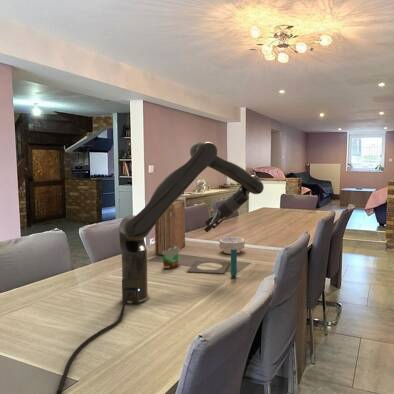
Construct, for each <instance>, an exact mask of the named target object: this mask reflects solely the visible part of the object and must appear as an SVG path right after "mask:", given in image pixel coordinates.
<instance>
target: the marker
mask: <svg viewBox="0 0 394 394" xmlns="http://www.w3.org/2000/svg"><path fill="white" fill-rule="evenodd" d="M237 260H238V253H237V249H235V248H232V249H231V254H230V277H231V279H233V280H235V279H237V273H238V271H237V270H238V269H237V268H238V264H237V263H238V261H237Z"/></svg>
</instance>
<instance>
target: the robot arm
mask: <svg viewBox="0 0 394 394" xmlns="http://www.w3.org/2000/svg"><path fill="white" fill-rule="evenodd" d="M189 155H190V158H189V160H187V162H185V163H184V164H183V165H181V166H179V167H178V168H176V169H175V170H173V171H171V173H169V174H168V175H167V176H166V177H165V178H164V179H163V180H162V181H161V182H160V183H159V184H158V186H157V187H156V188H155V189H154V191H153V193H152V194H151V197H150V200H149V201H148V203H147V204H146V205H145V206H144V208H142V209H141V210H140V211H139V212H138V213H137V214H136V215H134V214H130V215H129V214H128V215H127V216H125V217H124V218H122V219H121V220H120V223H119V226H118V234H119V235H118V236H119V249H120V253H121V277H122V278H121V301H122V306H121V310H120V313H119V316H118V318H117V320H116V321H114V322H113V323H111V324H109V325H108V326H105V327H104V328H102V329H100V330H99V331H97V332H96V333H94V334H92V335H91V336H89V337H88V338H87V339H86V340H84V341H83V342H82V343H81V344H80V345H79V346H78V347H77V348H76V349H75V350H74V352H73V353H72V354H71V356H70V357H69V358H68V360H67V363H66V364H65V367H64V370H63V373H62V375H61V378H60V381H59V384H58V387H57V390H56V394H61V393H62V391H63V388H64V385H65V382H66V379H67V375H68V374H69V373H68V372H69V371H70V367H71V365H72V362H73V361H74V359H75V358H76V356H77V355H78V353H79V352H80V351H81V349H83V348H84V347H85V346H86V345H87V344H89V342H91V341H93V340H94V339H95V338H97V337H99V336H100V335H101V334H103V333H104V332H106V331H108V330H110V329H112V328H113V327H115V326H117V325H118V324H119V323H120V322H121V320H122V318H123V316H124V312H125V308H126V306H127V304H128V305H129V304H130V305H139V304H141V303H143V302H145V301H147V300H148V299H149V288H148V287H149V286H148V285H149V283H148V250H147V247H146V244H145V238H146V237H148V235H149V233H150V232H151V231H152V229H153V228H155V224H156V222H157V221H158V220H159V219H160V217H161V216H162V215H163V214H164V213H165V212H166V211H167V210H168V209H169V208H170V207H171V205H172V204H173V203H174V202H175V201H176V200H179V198H180V197H181V196H182V195H183V194H184V193H185V191H187V189H188V188H189V187H190V186H191V185H192V184H193V182H194V181H195V180H196V179H197V178H198V177H199V175H201V174H202V172H203V171H205V170H206V169H207V168H211V169H212V170H215V171H216V172H218V173H220V174H222V175H223V176H225V177H226V178H229V179H230V180H232V181H234V182H235V183H237V184H238V185H240V186H239V188H238V189H237V190H236V191H235V192H234V193H233V194H232V195H230V196H228V197H227V198H226V199H225V200H224V201H223V202H221V204H219V205H218V206H217V209H216V210H215V211H214V212H213V213H211V214H210V217H209V218H208V219H206V221H205V222H204V224H205V225H206V227H205V228H204V229H203V230H204V232H206V233H209V232H210V231H211V230H212V229H216V228H217V227H218V226H220V225H221V223H222V222H223V218H226V219H229V218H230V217H231V216H233V215H234V213H236V212H237V211H238V210H239V209H240V208H241V207H242V206H243V205H244V204H245V203H247V202H248V201H249V198H250V193H251V194H253V195H260V194H262V193H263V191H264V188H265V187H264V184H263V182H262V180H261V178H260V177H259V176H258V175H256V174H252V175H251V174H250V173H249V171H247V170H246V169H244V168H242V167H241V166H239V165H238V164H236V163H234V162H231V161H228V160H226V159H224V158H222V157H220V156H218V148H217V146H216V145H215V144H214V143H213V142H210V141H200V142H196V143H194V144H193V145H191V147H190V148H189Z"/></svg>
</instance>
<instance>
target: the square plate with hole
mask: <svg viewBox="0 0 394 394" xmlns="http://www.w3.org/2000/svg"><path fill="white" fill-rule="evenodd" d="M230 265H231V261H230V262H229V261H228V262H227V261H206V260H205V261H202V260H197V261H196V262H195V263H194V264H193V265H192V266H191V267H190V268H189V269H188V270H187V273H192V274H211V275H212V274H213V275H224V274H225V272H226V271H227V269H228V267H229V266H230Z"/></svg>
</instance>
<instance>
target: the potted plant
mask: <svg viewBox="0 0 394 394" xmlns="http://www.w3.org/2000/svg"><path fill="white" fill-rule="evenodd" d="M180 252H181V249H179V247H178V246H176V245H173V247H172V248H168V249H167V250H163V252H162V255H161V256H162V264H163V270H172V269H176V268H178V265H179V254H180Z"/></svg>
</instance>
